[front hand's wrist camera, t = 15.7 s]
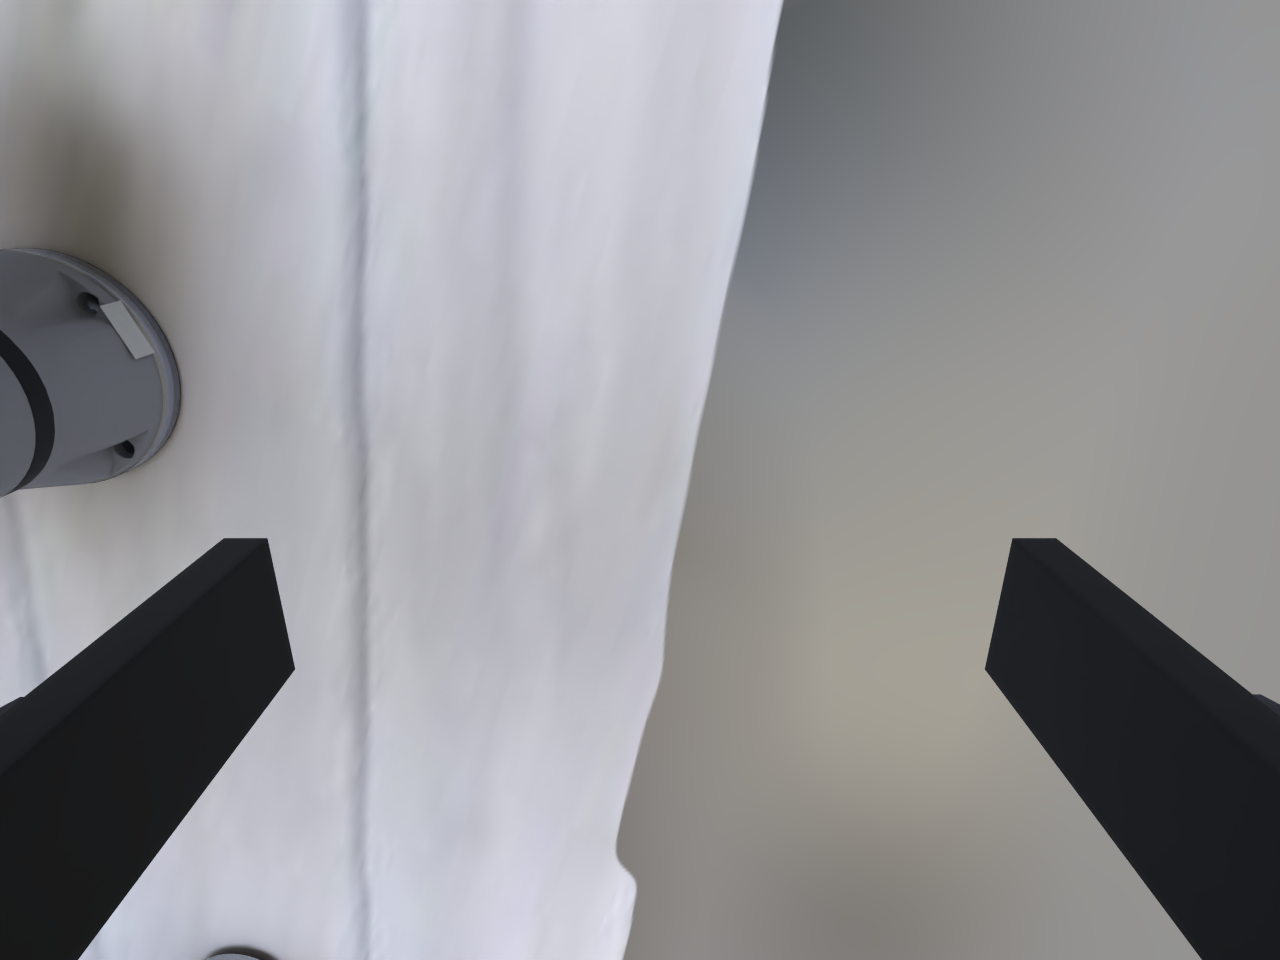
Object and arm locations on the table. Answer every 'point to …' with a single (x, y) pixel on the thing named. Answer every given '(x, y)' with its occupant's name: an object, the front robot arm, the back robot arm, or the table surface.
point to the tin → (231, 957)
